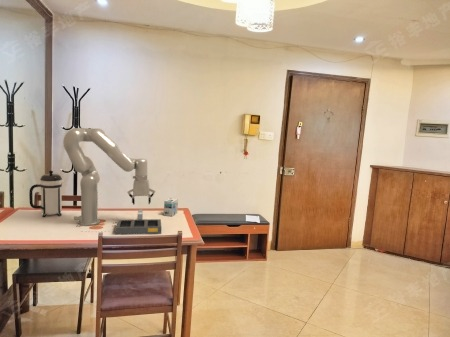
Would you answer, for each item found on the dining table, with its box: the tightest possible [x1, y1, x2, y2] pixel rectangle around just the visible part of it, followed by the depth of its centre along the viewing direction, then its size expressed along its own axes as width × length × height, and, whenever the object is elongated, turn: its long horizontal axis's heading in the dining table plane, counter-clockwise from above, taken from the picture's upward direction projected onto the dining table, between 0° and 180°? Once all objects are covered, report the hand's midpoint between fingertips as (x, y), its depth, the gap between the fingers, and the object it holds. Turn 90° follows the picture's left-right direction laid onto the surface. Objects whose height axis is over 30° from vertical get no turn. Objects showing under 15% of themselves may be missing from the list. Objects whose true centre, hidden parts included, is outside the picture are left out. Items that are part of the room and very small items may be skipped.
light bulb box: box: [163, 197, 179, 217], centre depth 236 cm, size 11×7×11 cm, turn 168°
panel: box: [136, 209, 144, 220], centre depth 214 cm, size 3×10×7 cm, turn 13°
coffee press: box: [28, 170, 65, 218], centre depth 217 cm, size 17×16×30 cm
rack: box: [115, 218, 162, 236], centre depth 200 cm, size 26×16×4 cm, turn 103°
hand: (141, 203), depth 213 cm, fingers open, 9 cm apart
